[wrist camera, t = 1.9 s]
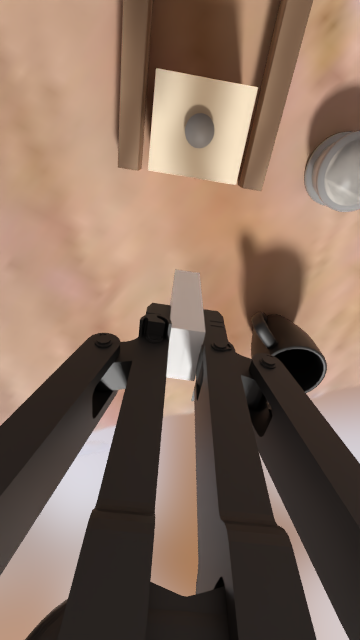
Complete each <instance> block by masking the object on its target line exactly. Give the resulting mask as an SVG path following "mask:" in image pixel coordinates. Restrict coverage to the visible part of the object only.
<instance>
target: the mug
mask: <svg viewBox="0 0 360 640" xmlns="http://www.w3.org/2000/svg"><path fill="white" fill-rule="evenodd" d="M251 322H252V325H253V335H252V343H251V357H252V358H253V356H254V355H255V354H258V353H266V354H269V355H272V356H274V357H276V358H278V359H279V360H280V361H281V362H282V363H283V365H284V366H285V367H286V369H287V370H288V371H289V372H290V374H291V375H292V376H293V378H294V379H295V380H296V382H297V383H298V384H299V385H300V387H301V388H302V389H303V391H304V392H305V393H307V392H309V391H311V390H313V389H314V388H315V387H317V386H318V385H319V384H320V383H321V381H322V380H323V378H324V377H325V374H326V370H327V363H326V360H325V358H324V356H323V355H322V353H321V352H320V350H319V349H318V347H317V346H316V344H315V343H314V341H313V340H312V339H311V338H310V337H309V335H308V334H307V333H306V332H304V331H303V330H302V329H301V328H299V327H298V326H297V325H295V324H294V323H293V322H291V321H289V320H288V319H286V318H285V317H283V316H281V315H268V316H266V315H265V313H264V312H258V313H256V314H255V315H253V317H252V318H251Z"/></svg>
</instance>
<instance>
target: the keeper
mask: <svg viewBox="0 0 360 640" xmlns="http://www.w3.org/2000/svg"><path fill="white" fill-rule="evenodd" d="M257 90H258V87H253V86H248V85H243V84H238V83H232V82H227V81H222V80H216V79H211V78H206V77H201V76H195V75H190V74H185V73H179V72H174V71H169V70H164V69H158V68H156V76H155V89H154V101H153V114H152V126H151V139H150V151H149V164H148V170H149V171H155V172H161V173H167V174H173V175H179V176H185V177H191V178H197V179H203V180H209V181H215V182H221V183H227V184H233V185H236V183H237V178H238V174H239V169H240V165H241V161H242V156H243V152H244V147H245V143H246V138H247V134H248V130H249V125H250V121H251V116H252V112H253V108H254V103H255V99H256V94H257Z"/></svg>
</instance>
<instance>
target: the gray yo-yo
mask: <svg viewBox="0 0 360 640" xmlns="http://www.w3.org/2000/svg"><path fill="white" fill-rule="evenodd" d="M304 183H305V188H306V191H307V193H308V195H309V196H310V197H311V198H312V199H313V200H314V201H315V202H317V203H319V204H321V205H325V206H328V207H329V208H331V209H334V210H336V211H340V212H350V211H355V210H358V209H360V131H355V132H342V133H338V134H335V135H333V136H331V137H329V138H327V139H326V140H324V141H323V142H322V143H321V144H320V145H319V146H318V147H317V148H316V149H315V150H314V152H313V153H312V155H311V156H310V158H309V160H308V163H307V165H306V169H305V174H304Z"/></svg>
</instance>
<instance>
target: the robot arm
mask: <svg viewBox="0 0 360 640" xmlns="http://www.w3.org/2000/svg"><path fill="white" fill-rule="evenodd" d="M195 375H196V383H195V387H194V392H193V396H192V400H191V401H194V402H195V439H196V476H197V477H196V480H197V518H198V554H199V555H198V557H199V561H198V562H199V564H198V575H197V582H196V595H192V596H188V597H185V596H181V595H178V594H176V593H174V592H172V591H170V590H167V589H165V588H163V587H161V586H158V585H156V584H154V583H152V582H150V578H151V566H152V554H153V553H152V552H153V542H154V529H155V500H156V488H157V476H158V465H159V454H160V442H161V431H162V419H163V408H164V396H165V385H166V377H167V378H175V379H183V380H191V381H194V380H195ZM119 389H125V392H124V396H123V400H122V404H121V408H120V412H119V416H118V420H117V424H116V428H115V432H114V436H113V440H112V444H111V448H110V452H109V456H108V460H107V464H106V468H105V472H104V476H103V480H102V484H101V488H100V492H99V496H98V500H97V503H96V506H95V508H94V509H93V510H92V513H91V515H90V518H89V522H88V525H87V529H86V532H85V536H84V540H83V544H82V548H81V552H80V555H79V559H78V563H77V567H76V571H75V574H74V578H73V582H72V586H71V590H70V593H69V597H68V599H67V600H65V601H64V602H63V603H61V604H60V605H59V606H57V607H56V608H55V609H53V610H52V611H51V612H50V613H49V614H48V615H47V616H46V617H45V618H44V619H43V620H42V621H41V622H40V623H39V624H38V625H37V627H35V629H34V630H33V631H32V632H31V633H30V634H29V636H28V637H27V638H26V639H25V640H316V636H315V632H314V628H313V624H312V621H311V617H310V613H309V609H308V605H307V602H306V598H305V594H304V590H303V586H302V583H301V579H300V575H299V571H298V567H297V563H296V559H295V556H294V552H293V548H292V545H291V542H290V539H289V536H288V535H287V533H286V531H285V530H284V529H283V528H281V527H280V526H278V525H277V524H276V522H275V519H274V516H273V512H272V508H271V504H270V499H269V495H268V491H267V486H266V482H265V478H264V473H263V469H262V465H261V460H260V456H259V453H260V455H261V458H262V460H263V462H264V464H265V466H266V468H267V470H268V472H269V474H270V476H271V478H272V481H273V483H274V485H275V487H276V489H277V491H278V493H279V495H280V497H281V499H282V501H283V503H284V506H285V508H286V510H287V512H288V514H289V516H290V518H291V520H292V522H293V524H294V526H295V528H296V531H297V533H298V535H299V536H300V539H301V541H302V543H303V545H304V547H305V549H306V551H307V553H308V555H309V558H310V560H311V562H312V564H313V566H314V568H315V570H316V572H317V574H318V576H319V578H320V580H321V583H322V585H323V587H324V589H325V591H326V593H327V595H328V597H329V599H330V601H331V603H332V605H333V608H334V609H335V612H336V614H337V616H338V618H339V620H340V622H341V624H342V626H343V628H344V630H345V631H346V634H347V636H348V638H349V640H360V464H359V462H358V461H357V460H356V458H355V457H354V456H353V454H352V453H351V452H350V451H349V449H348V448H347V447H346V445H345V444H344V443H343V441H342V440H341V439H340V437H339V436H338V435H337V434H336V432H335V431H334V430H333V428H332V427H331V426H330V424H329V423H328V422H327V421H326V419H325V418H324V417H323V416H322V414H321V413H320V411H319V410H318V409H317V408H316V406H315V405H314V404H313V402H312V401H311V400H310V398H309V397H308V396H307V395H306V393H305V392H304V391H303V389H302V388H301V387H300V385H299V384H298V383H297V382H296V380H295V379H294V378H293V376H292V375H291V374H290V372H289V371H288V370H287V369H286V367H285V366H284V365H283V363H282V362H281V361H280V360H279V359H278V358H276V357H274V356H272V355H269V354H266V353H258V354H255V355H254V356H253V358H252V359H249V358H247V357H244V356H241V355H239V354H237V353H236V352H235V349H234V347H233V345H232V344H231V343H230V342H228V339H227V334H226V329H225V325H224V320H223V316H222V315H221V314H220V313H219V312H218V311H211V310H204V309H203V302H202V292H201V282H200V273H196V272H190V271H183V270H176V269H175V275H174V282H173V288H172V295H171V302H170V305H164V304H157V303H152V304H151V305H150V306H148V307H147V311H146V315H145V316H143V317H142V318H141V319H140V327H139V337H138V338H136V339H135V340H132V341H127V342H120V340H119V338H118V337H117V336H115V335H113V334H109V333H98V334H95V335H92V336H91V337H89V338H88V339H87V340H86V341H85V342H84V343H83V344H82V345H81V346H80V347H79V348H78V349H77V350H76V351H75V352H74V353H73V354H72V355H71V356H70V357H69V358H68V359H67V360H66V361H65V362H64V363H63V364H62V365H61V366H60V367H59V368H58V369H57V370H56V371H55V372H54V373H53V374H52V375H51V376H50V377H49V378H48V379H47V380H46V381H45V382H44V383H43V384H42V385H41V386H40V387H39V388H38V389H37V390H36V391H35V392H34V393H33V394H32V395H31V396H30V397H29V398H28V399H27V400H26V401H25V402H24V403H23V404H22V405H21V406H20V407H19V408H18V409H17V410H16V411H15V412H14V413H13V414H12V415H11V416H10V417H9V418H8V419H7V420H6V421H5V422H4V423H3V424H2V425H1V426H0V575H1V573H2V572H3V570H4V569H5V567H6V566H7V564H8V563H9V561H10V559H11V558H12V556H13V555H14V553H15V552H16V550H17V549H18V547H19V545H20V544H21V542H22V541H23V539H24V538H25V536H26V535H27V533H28V531H29V530H30V528H31V527H32V525H33V524H34V522H35V520H36V519H37V517H38V516H39V514H40V513H41V511H42V510H43V508H44V506H45V505H46V503H47V501H48V500H49V498H50V497H51V495H52V494H53V492H54V491H55V489H56V488H57V486H58V484H59V483H60V481H61V480H62V478H63V477H64V475H65V474H66V472H67V470H68V469H69V467H70V466H71V464H72V463H73V461H74V459H75V458H76V456H77V455H78V453H79V452H80V450H81V449H82V447H83V446H84V444H85V442H86V441H87V439H88V437H89V436H90V435H91V433H92V431H93V430H94V428H95V427H96V425H97V424H98V422H99V421H100V419H101V417H102V416H103V414H104V413H105V411H106V410H107V408H108V406H109V405H110V403H111V402H112V400H113V399H114V397H115V396H116V394H117V391H118V390H119ZM258 451H259V452H258Z"/></svg>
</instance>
